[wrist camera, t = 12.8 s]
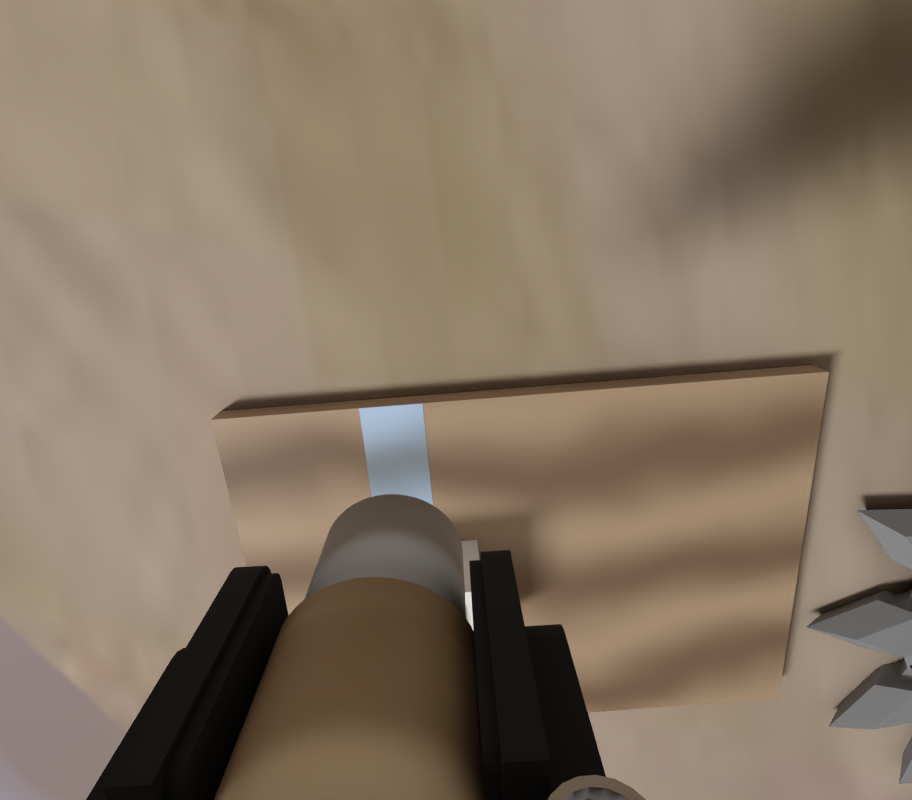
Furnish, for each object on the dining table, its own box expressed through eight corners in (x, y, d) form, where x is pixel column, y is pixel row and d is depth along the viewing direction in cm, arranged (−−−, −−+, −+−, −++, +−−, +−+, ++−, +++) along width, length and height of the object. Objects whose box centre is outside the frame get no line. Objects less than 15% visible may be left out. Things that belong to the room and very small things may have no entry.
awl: (304, 490, 11) (-30, 1161, 3) (468, 480, 11) (522, 1126, 3) (327, 622, 13) (116, 1361, 4) (475, 614, 13) (531, 1336, 4)
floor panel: (220, 410, 27) (210, 419, 26) (812, 364, 27) (829, 371, 26) (292, 716, 34) (286, 734, 32) (767, 681, 33) (778, 698, 32)
